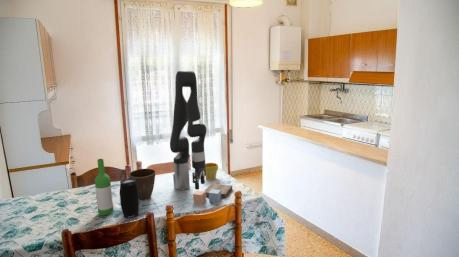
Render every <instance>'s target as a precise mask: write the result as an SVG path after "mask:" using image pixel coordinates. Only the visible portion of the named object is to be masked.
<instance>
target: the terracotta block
mask: <svg viewBox="0 0 459 257" xmlns="http://www.w3.org/2000/svg"><path fill="white" fill-rule="evenodd" d="M192 198H193V199H192V200H193V204H200V205H203V204H204V203H205V202H206V200H207V196H206V191H205V190H196V191H195V192H193V193H192Z"/></svg>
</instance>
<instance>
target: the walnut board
mask: <svg viewBox="0 0 459 257" xmlns="http://www.w3.org/2000/svg"><path fill="white" fill-rule="evenodd" d="M212 189H215V190H221V199H226V198H227V197H228V196H229V195H230V193H231V192H232V190H233V185H229V184H219V183H210V185H208V186H207V188H205V190H204V191H206V197H209V192H210V191H211V190H212Z"/></svg>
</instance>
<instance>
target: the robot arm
mask: <svg viewBox="0 0 459 257" xmlns="http://www.w3.org/2000/svg"><path fill="white" fill-rule="evenodd" d="M183 88H190V94H189V97H188V99H187V100H186V98H185V96H184V92H183V90H184V89H183ZM174 92H175V93H174V94H175V96H174V107H173V120H172V129H171V136H170V140H169V147H170V151H171V152H172V153H174V154H176V153H178V154H177V155H175V157H174V158H173V169H174V170H173V172H174V173H173V175H172V177H173V178H172V179H173V189H175V190H177V191H185V190H188V189H190V171H189V170H190V166H189V160H190V148H191V167H192V168H193V169H194V172H192V184H194V189H195V190H196V191H199V189H200V184H201V185H204V184H206V183H205V179H206V176H205V175H206V168H205V166H206V165H205V164H206V155H205V139H206V136H207V126H206V125H205V124H204V123H196V124H195V123H194V122H197V121H199V120H201V113H200V112H201V111H200V108H199V101H198V84H197V75H196V73H195V72H194V71H192V70H177V72H176V74H175V91H174ZM186 124H187V130H186V131H187V132H186V134H187V136H188V137H190V138H196V137H198V139H195V140H193V141H191V144H190V142H189V139H188V138H187V136H184V135H183V136H181V133H182V131H183V130H184V127H185V126H186ZM190 145H191V147H190Z"/></svg>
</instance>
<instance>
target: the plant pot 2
mask: <svg viewBox="0 0 459 257" xmlns="http://www.w3.org/2000/svg"><path fill="white" fill-rule="evenodd" d="M205 165H206V166H205V168H206V175H205V179H206V180H207V181H213V180H216V177H217V172H218V170H219V165H218V163H215V162H208V163H207V162H205Z"/></svg>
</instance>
